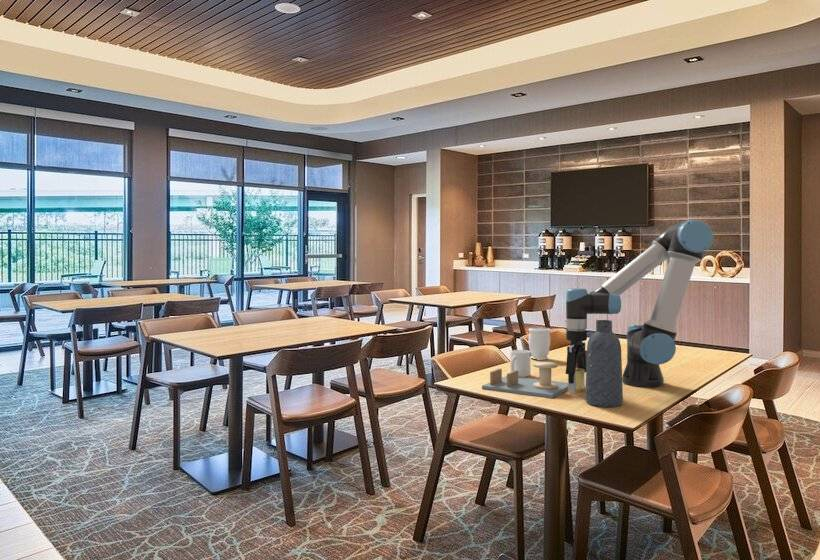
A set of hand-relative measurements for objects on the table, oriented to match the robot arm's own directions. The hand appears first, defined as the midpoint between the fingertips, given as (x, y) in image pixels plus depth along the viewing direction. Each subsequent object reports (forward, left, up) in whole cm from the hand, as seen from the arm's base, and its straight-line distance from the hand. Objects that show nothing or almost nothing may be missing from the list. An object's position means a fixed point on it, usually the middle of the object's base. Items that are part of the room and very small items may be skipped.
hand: (576, 389), depth 217 cm
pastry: (+11, -45, -1) cm, 47 cm away
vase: (-14, +14, 0) cm, 20 cm away
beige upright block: (0, 0, 0) cm, 0 cm away
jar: (+37, -55, 0) cm, 66 cm away
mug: (+29, -12, 0) cm, 31 cm away
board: (+17, +6, 0) cm, 18 cm away
